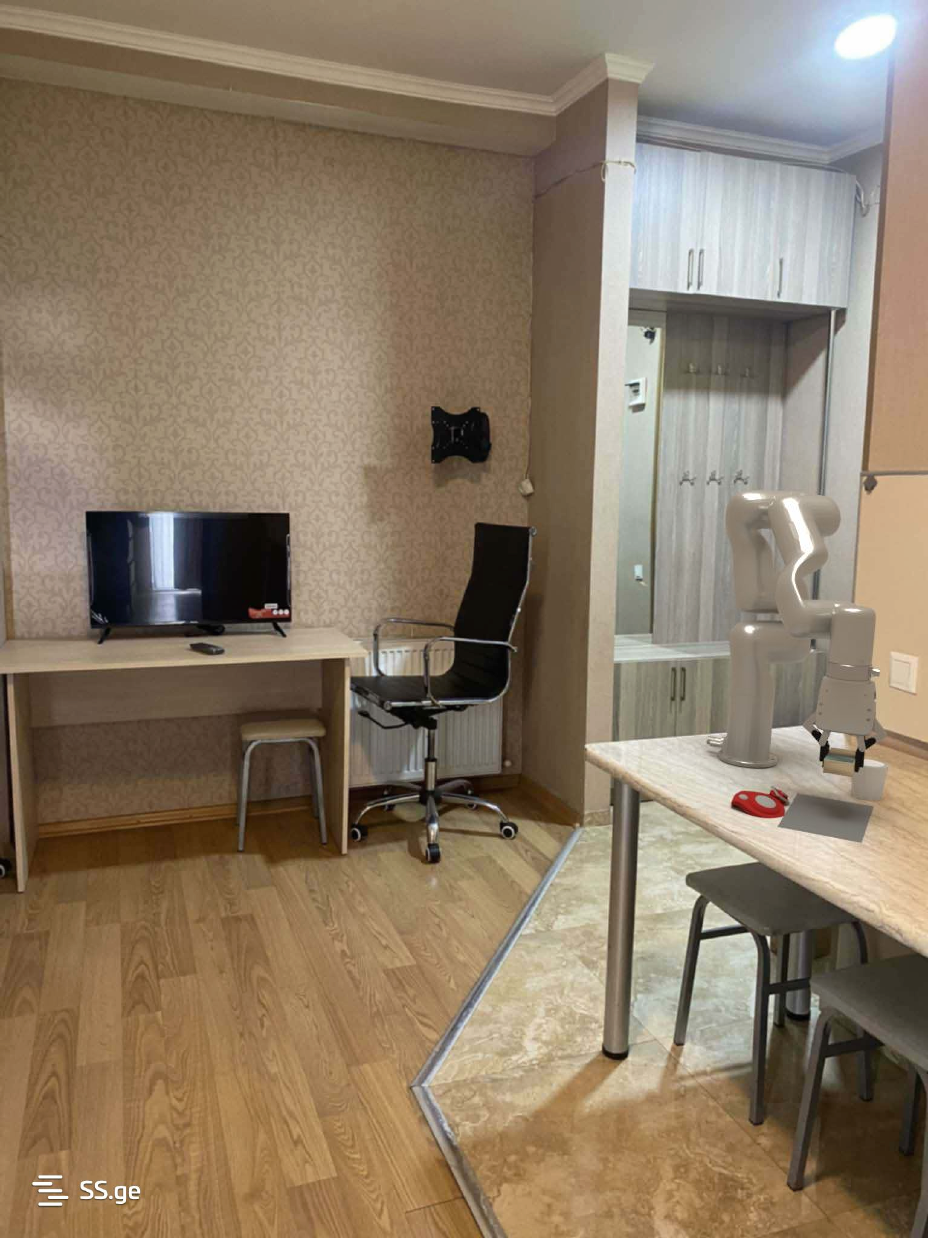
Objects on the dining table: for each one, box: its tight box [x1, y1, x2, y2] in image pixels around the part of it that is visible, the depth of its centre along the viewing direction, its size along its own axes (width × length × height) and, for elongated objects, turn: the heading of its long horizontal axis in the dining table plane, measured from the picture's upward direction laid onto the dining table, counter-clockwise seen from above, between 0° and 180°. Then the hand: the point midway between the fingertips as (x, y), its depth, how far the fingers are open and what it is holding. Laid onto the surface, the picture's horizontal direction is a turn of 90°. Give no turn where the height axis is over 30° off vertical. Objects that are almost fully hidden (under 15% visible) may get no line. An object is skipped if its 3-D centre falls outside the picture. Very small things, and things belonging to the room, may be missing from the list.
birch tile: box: [822, 746, 856, 778], centre depth 179 cm, size 10×5×3 cm, turn 152°
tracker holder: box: [730, 785, 791, 819], centre depth 181 cm, size 12×4×10 cm
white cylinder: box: [850, 757, 889, 802], centre depth 191 cm, size 7×7×7 cm
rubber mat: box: [777, 793, 874, 844], centre depth 177 cm, size 14×22×1 cm, turn 152°
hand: (840, 767), depth 179 cm, fingers closed on birch tile, 4 cm apart
